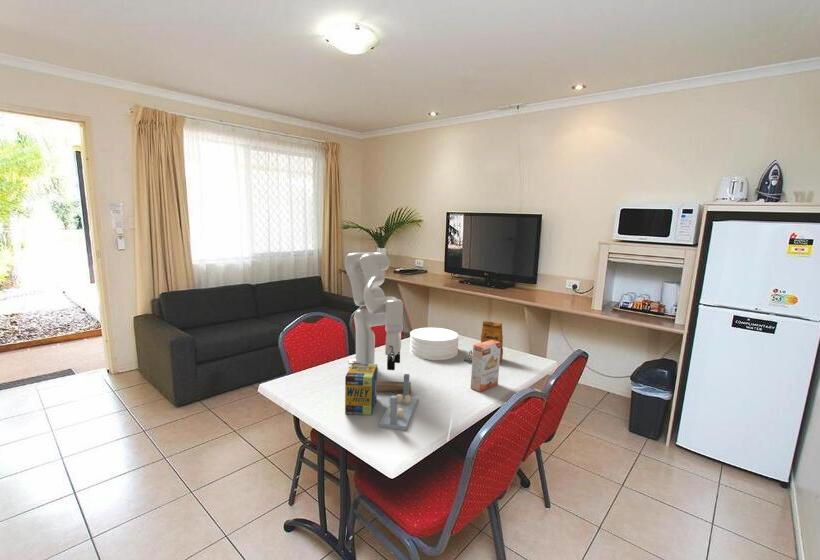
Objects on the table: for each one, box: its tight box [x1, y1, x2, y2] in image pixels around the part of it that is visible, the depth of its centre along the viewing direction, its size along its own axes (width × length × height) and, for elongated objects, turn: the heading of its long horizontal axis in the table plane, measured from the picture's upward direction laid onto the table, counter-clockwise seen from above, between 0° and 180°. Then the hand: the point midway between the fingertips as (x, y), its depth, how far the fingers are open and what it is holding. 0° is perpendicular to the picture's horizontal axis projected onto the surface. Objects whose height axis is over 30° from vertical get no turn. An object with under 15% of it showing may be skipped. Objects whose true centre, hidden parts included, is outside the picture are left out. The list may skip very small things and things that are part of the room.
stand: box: [378, 373, 419, 431], centre depth 150 cm, size 10×24×12 cm, turn 168°
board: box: [377, 379, 412, 395], centre depth 170 cm, size 4×16×4 cm, turn 86°
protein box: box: [344, 363, 378, 416], centre depth 155 cm, size 10×15×16 cm
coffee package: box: [480, 320, 504, 362], centre depth 213 cm, size 10×12×22 cm
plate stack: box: [409, 327, 459, 361], centre depth 224 cm, size 28×28×12 cm
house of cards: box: [462, 349, 473, 365], centre depth 210 cm, size 9×9×8 cm
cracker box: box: [470, 340, 501, 393], centre depth 177 cm, size 14×6×21 cm, turn 133°
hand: (393, 366), depth 168 cm, fingers open, 9 cm apart
